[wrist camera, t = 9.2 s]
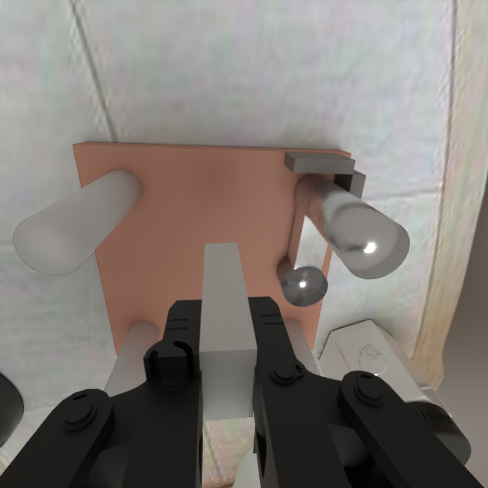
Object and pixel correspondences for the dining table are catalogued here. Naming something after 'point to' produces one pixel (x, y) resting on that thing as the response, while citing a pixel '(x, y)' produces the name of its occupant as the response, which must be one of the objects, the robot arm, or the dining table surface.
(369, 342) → the jar
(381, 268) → the shiny metal angled handle
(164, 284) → the seat
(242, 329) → the robot arm
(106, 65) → the dining table surface
